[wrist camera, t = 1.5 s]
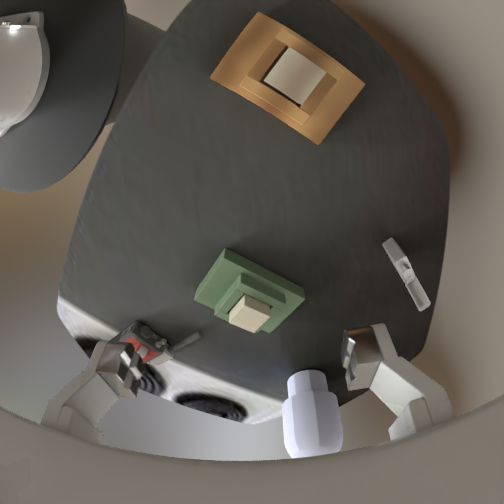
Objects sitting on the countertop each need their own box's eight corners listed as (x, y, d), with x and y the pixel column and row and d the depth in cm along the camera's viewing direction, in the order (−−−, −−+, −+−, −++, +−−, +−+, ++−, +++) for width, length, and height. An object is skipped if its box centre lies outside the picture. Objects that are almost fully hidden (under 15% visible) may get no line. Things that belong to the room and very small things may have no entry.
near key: (263, 80, 21) (264, 80, 19) (286, 49, 19) (289, 46, 17) (298, 103, 22) (302, 105, 20) (321, 72, 20) (327, 72, 18)
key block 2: (196, 289, 38) (191, 310, 35) (225, 247, 34) (222, 267, 31) (269, 322, 42) (270, 343, 38) (303, 287, 38) (307, 308, 35)
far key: (229, 310, 35) (228, 322, 34) (244, 293, 34) (244, 305, 32) (253, 321, 36) (253, 333, 35) (269, 304, 35) (270, 316, 33)
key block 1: (212, 78, 23) (206, 77, 20) (257, 16, 20) (258, 6, 16) (313, 141, 27) (322, 150, 24) (358, 83, 23) (373, 84, 20)
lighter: (381, 243, 34) (406, 283, 27) (392, 236, 33) (419, 275, 27) (399, 276, 37) (421, 315, 30) (409, 269, 36) (432, 307, 30)
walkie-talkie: (139, 367, 50) (207, 330, 43) (134, 385, 46) (204, 352, 39) (103, 343, 46) (164, 297, 39) (96, 361, 42) (156, 320, 35)
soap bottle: (325, 358, 47) (346, 485, 27) (336, 381, 52) (355, 488, 32) (272, 373, 50) (277, 496, 30) (290, 394, 55) (298, 499, 35)
